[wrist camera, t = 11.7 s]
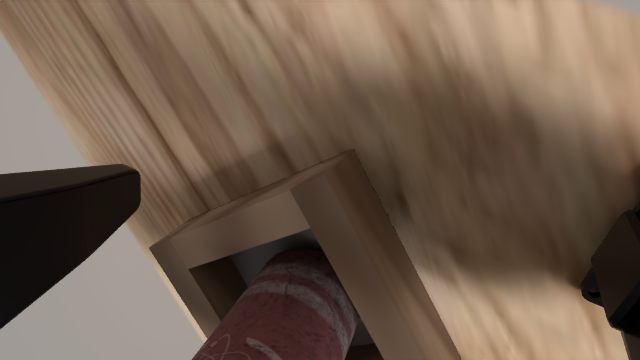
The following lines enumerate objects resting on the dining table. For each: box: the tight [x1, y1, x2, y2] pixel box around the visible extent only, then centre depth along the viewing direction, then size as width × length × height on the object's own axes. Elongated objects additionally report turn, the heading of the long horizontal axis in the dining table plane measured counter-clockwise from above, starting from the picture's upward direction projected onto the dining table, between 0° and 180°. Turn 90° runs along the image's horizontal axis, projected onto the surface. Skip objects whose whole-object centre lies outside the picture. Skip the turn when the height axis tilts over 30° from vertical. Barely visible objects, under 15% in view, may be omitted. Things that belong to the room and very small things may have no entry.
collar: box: [149, 149, 461, 360], centre depth 23 cm, size 13×13×4 cm
